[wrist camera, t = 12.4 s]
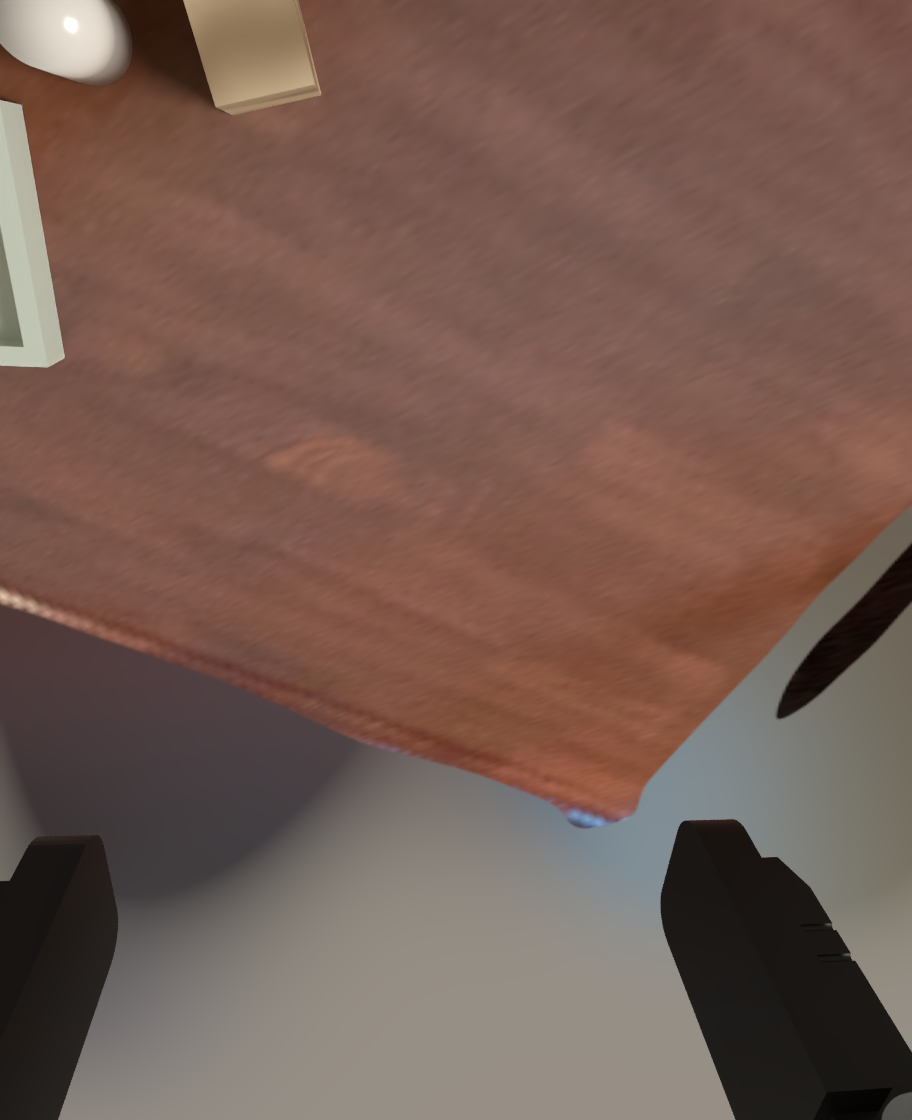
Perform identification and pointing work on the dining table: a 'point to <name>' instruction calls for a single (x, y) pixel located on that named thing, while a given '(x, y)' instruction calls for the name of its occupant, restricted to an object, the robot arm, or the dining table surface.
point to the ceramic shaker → (69, 38)
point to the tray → (23, 256)
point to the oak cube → (253, 52)
